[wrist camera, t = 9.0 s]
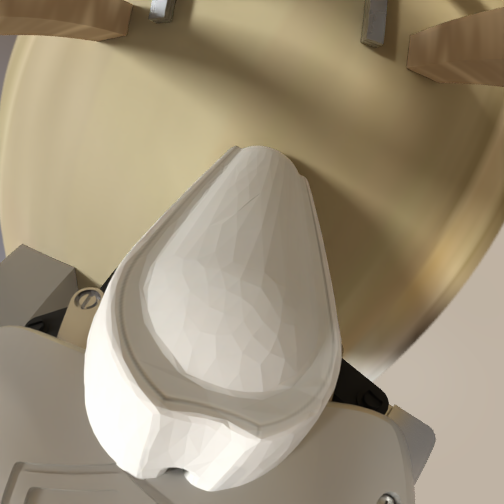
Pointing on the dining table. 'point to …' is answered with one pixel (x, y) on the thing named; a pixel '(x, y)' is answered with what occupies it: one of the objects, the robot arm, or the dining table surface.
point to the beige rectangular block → (33, 286)
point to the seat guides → (370, 31)
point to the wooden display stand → (419, 55)
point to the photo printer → (217, 330)
